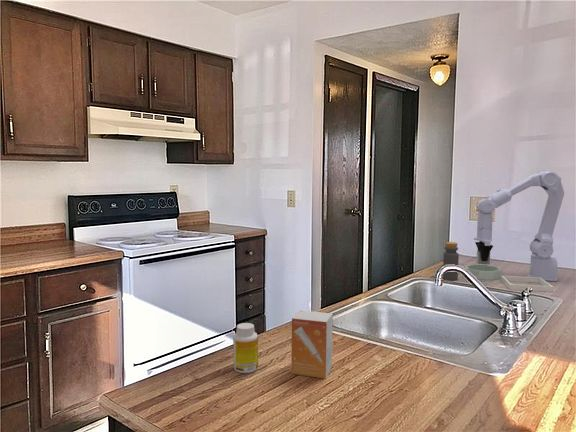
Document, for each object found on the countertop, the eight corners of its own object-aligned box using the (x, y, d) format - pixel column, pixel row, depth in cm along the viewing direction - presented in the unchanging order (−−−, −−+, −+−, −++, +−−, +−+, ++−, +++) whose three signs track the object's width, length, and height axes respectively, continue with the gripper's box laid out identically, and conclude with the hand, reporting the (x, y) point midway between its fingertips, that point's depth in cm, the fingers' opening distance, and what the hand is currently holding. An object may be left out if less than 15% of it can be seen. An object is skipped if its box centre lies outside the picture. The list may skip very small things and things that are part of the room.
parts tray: (540, 282, 185) (540, 277, 185) (552, 291, 171) (553, 286, 171) (500, 280, 188) (501, 275, 188) (510, 289, 174) (510, 284, 174)
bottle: (459, 280, 188) (461, 244, 186) (445, 280, 188) (446, 244, 187) (455, 277, 194) (456, 241, 192) (440, 277, 194) (442, 241, 192)
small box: (290, 374, 104) (290, 317, 102) (298, 363, 110) (298, 309, 108) (326, 379, 101) (326, 321, 100) (332, 367, 107) (333, 312, 106)
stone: (487, 262, 197) (488, 250, 196) (489, 264, 193) (490, 252, 192) (476, 262, 198) (476, 250, 197) (478, 264, 194) (478, 252, 193)
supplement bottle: (261, 371, 105) (261, 327, 104) (238, 376, 103) (238, 331, 102) (252, 362, 110) (252, 320, 109) (230, 366, 108) (229, 323, 107)
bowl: (495, 273, 201) (496, 265, 201) (503, 280, 188) (503, 272, 188) (463, 271, 204) (463, 264, 203) (468, 279, 191) (468, 270, 190)
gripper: (471, 225, 202) (470, 256, 203) (477, 229, 188) (476, 263, 189) (488, 225, 200) (487, 257, 202) (496, 230, 186) (494, 263, 188)
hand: (483, 260), depth 195 cm, fingers closed on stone, 4 cm apart
